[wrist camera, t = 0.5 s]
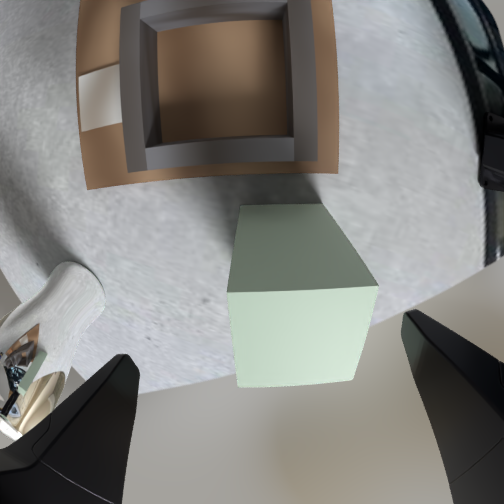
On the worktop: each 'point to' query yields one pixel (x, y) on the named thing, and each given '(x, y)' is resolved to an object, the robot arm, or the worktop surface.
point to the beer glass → (44, 345)
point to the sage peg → (296, 297)
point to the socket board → (205, 89)
